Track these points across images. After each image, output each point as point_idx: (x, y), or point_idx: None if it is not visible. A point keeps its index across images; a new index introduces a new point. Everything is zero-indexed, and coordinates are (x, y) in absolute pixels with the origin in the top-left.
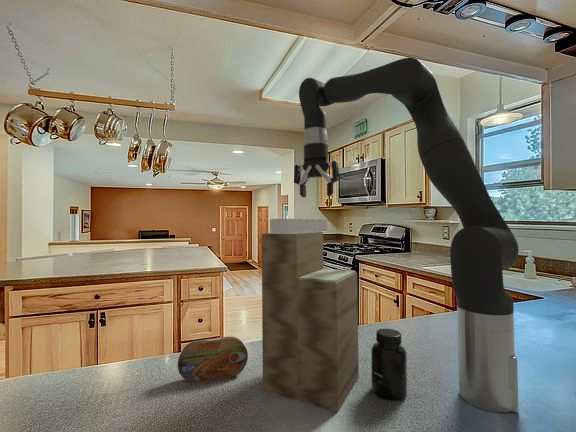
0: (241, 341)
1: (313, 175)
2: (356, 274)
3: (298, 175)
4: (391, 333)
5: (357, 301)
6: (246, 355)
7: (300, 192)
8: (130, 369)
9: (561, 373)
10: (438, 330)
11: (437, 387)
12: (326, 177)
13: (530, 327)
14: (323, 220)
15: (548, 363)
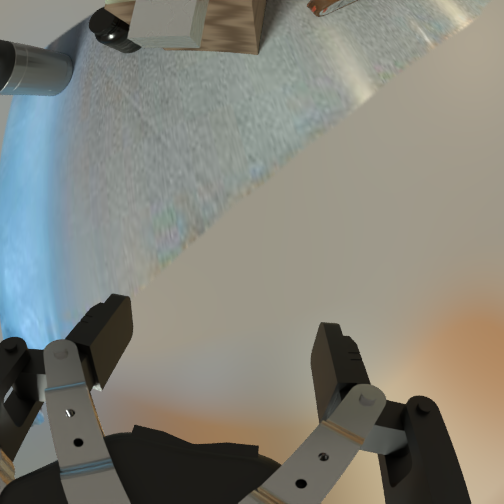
0: (323, 3)
1: (210, 452)
2: (106, 5)
3: (410, 474)
4: (98, 17)
5: (126, 22)
6: (309, 5)
7: (353, 350)
8: (439, 11)
9: (3, 166)
10: (87, 256)
11: (88, 72)
12: (66, 383)
13: (18, 296)
14: (136, 6)
15: (7, 187)
